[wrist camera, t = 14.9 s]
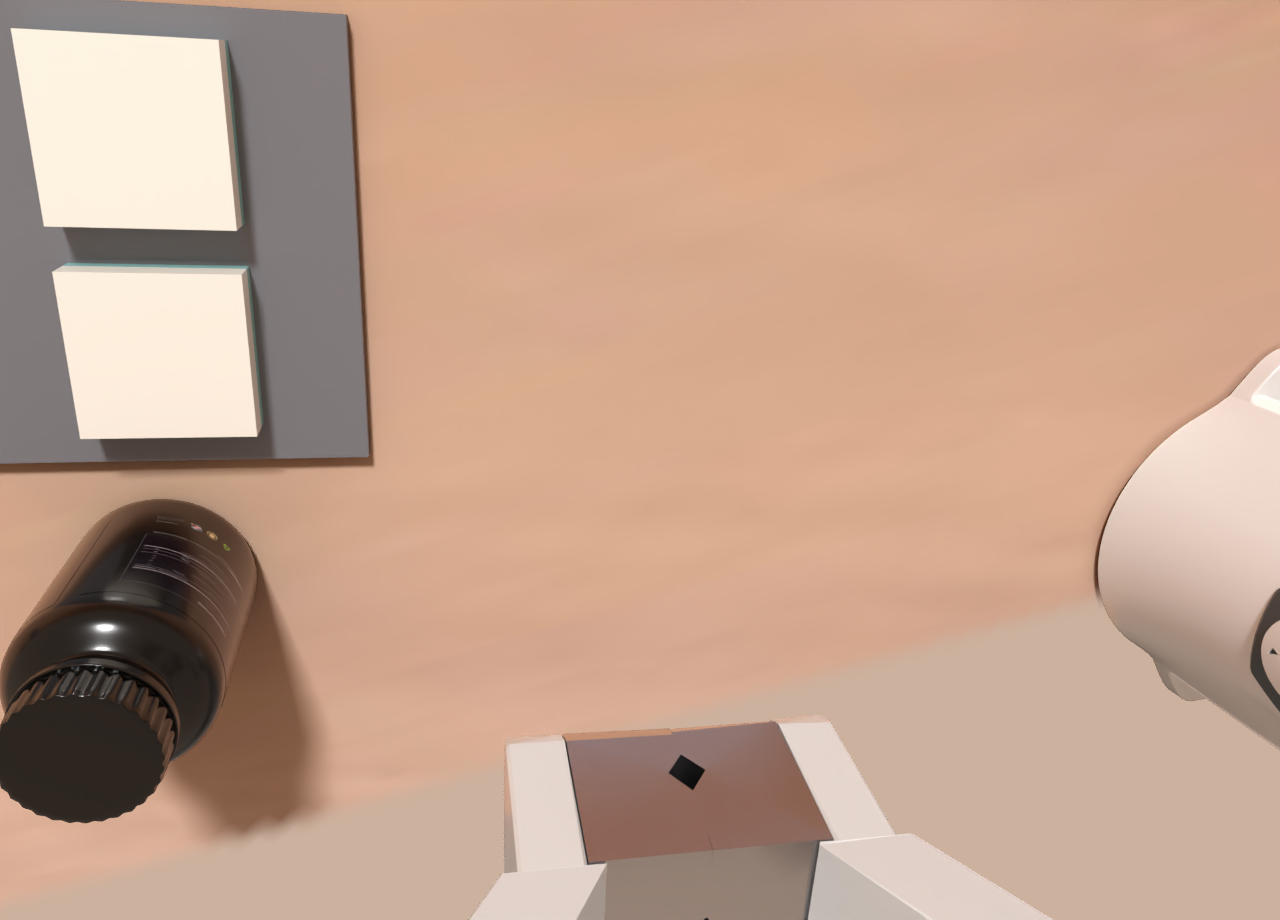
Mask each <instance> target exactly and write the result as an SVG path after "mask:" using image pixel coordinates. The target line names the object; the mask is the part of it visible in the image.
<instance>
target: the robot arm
mask: <svg viewBox="0 0 1280 920" xmlns="http://www.w3.org/2000/svg"><path fill="white" fill-rule="evenodd" d="M1098 581H1099V589H1100V594H1101V598H1102V601H1103V604H1104V607H1105V609H1106V611H1107V613H1108V616H1109V617H1110V619H1111V621H1112V622H1113V624H1114V625H1115V626H1116V627H1117V629H1118V630H1119V631H1120V632H1121V633H1122V634H1123V635H1124V636H1125V637H1126V638H1127V639H1129V640H1130V641H1131V642H1133V643H1134V644H1136V645H1137V646H1139V647H1140V648H1142V649H1143V650H1144V651H1146V652H1147V653H1148V654H1149V655H1150V656H1151V657H1152V658H1153V660H1154V662H1155V665H1156V667H1157V670H1158V672H1159V675H1160V677H1161V679H1162V681H1163V683H1164V684H1165V686H1166V687H1167V688H1168V689H1169V690H1171V691H1172V692H1173V693H1175V694H1177V695H1178V696H1179V697H1181V698H1182V699H1184V700H1187V701H1195V700H1200V699H1204V698H1206V699H1208V700H1209V701H1211V702H1212V703H1213V704H1215V705H1216V706H1218V707H1219V708H1220V709H1222V710H1223V711H1225V712H1226V713H1228V714H1229V715H1230V716H1232V717H1233V718H1235V719H1236V720H1237V721H1239V722H1240V723H1242V724H1243V725H1244V726H1246V727H1247V728H1249V729H1250V730H1252V731H1253V732H1255V733H1256V734H1257V735H1259V736H1260V737H1262V738H1263V739H1265V740H1266V741H1267V742H1269V743H1270V744H1272V745H1273V746H1275V747H1276V748H1278V749H1279V750H1280V349H1277V350H1275V351H1273V352H1272V353H1270V354H1269V355H1267V356H1266V357H1265V358H1264V359H1263V360H1262V361H1260V362H1259V363H1258V364H1257V365H1256V366H1255V367H1254V368H1253V370H1252V371H1251V372H1250V373H1249V374H1248V375H1247V376H1246V377H1245V378H1244V379H1243V381H1242V382H1241V383H1240V384H1239V385H1238V386H1237V388H1236V389H1235V390H1234V391H1233V392H1232V393H1231V395H1230V396H1228V397H1227V398H1226V399H1224V400H1223V401H1222V402H1220V403H1219V404H1218V405H1216V406H1215V407H1213V408H1211V409H1210V410H1208V411H1207V412H1205V413H1203V414H1202V415H1200V416H1198V417H1197V418H1195V419H1193V420H1192V421H1190V422H1189V423H1187V424H1186V425H1184V426H1183V427H1181V428H1180V429H1179V430H1177V431H1176V432H1175V433H1173V434H1172V435H1171V436H1170V437H1169V438H1167V439H1166V440H1165V441H1164V442H1163V443H1162V444H1161V445H1160V446H1159V447H1158V448H1156V449H1155V450H1154V451H1153V452H1152V453H1151V455H1150V456H1149V457H1148V458H1147V459H1146V460H1145V461H1144V462H1143V463H1142V465H1141V466H1140V467H1139V468H1138V469H1137V471H1136V472H1135V473H1134V475H1133V476H1132V477H1131V479H1130V480H1129V482H1128V483H1127V485H1126V486H1125V488H1124V489H1123V491H1122V493H1121V495H1120V496H1119V498H1118V500H1117V502H1116V504H1115V506H1114V508H1113V510H1112V512H1111V514H1110V517H1109V519H1108V522H1107V525H1106V528H1105V531H1104V534H1103V538H1102V542H1101V546H1100V552H1099V561H1098ZM504 866H505V867H504V868H505V873H504V874H500V875H499V877H498V878H497V879H496V881H495V882H494V884H493V885H492V886H491V888H490V889H489V891H488V892H487V894H486V895H485V896H484V898H483V899H482V901H481V902H480V903H479V905H478V906H477V908H476V909H475V911H474V912H473V913H472V915H471V916H470V918H469V919H468V920H1053V919H1051V918H1049V917H1048V916H1046V915H1045V914H1043V913H1041V912H1040V911H1038V910H1036V909H1035V908H1033V907H1031V906H1030V905H1028V904H1027V903H1025V902H1023V901H1022V900H1020V899H1018V898H1017V897H1015V896H1013V895H1012V894H1010V893H1009V892H1007V891H1005V890H1003V889H1002V888H1000V887H999V886H997V885H995V884H994V883H992V882H991V881H989V880H987V879H985V878H984V877H982V876H981V875H979V874H977V873H976V872H974V871H973V870H971V869H969V868H968V867H966V866H964V865H963V864H961V863H959V862H958V861H956V860H955V859H953V858H951V857H950V856H948V855H946V854H945V853H943V852H941V851H940V850H938V849H936V848H935V847H933V846H931V845H930V844H928V843H927V842H925V841H923V840H922V839H920V838H918V837H917V836H915V835H914V834H902V835H896V833H895V831H894V830H893V828H892V826H891V825H890V823H889V821H888V819H887V818H886V816H885V814H884V813H883V811H882V809H881V808H880V806H879V804H878V802H877V801H876V799H875V797H874V796H873V794H872V792H871V790H870V789H869V787H868V786H867V784H866V782H865V780H864V779H863V777H862V775H861V773H860V772H859V770H858V768H857V767H856V765H855V763H854V762H853V760H852V758H851V757H850V755H849V753H848V751H847V750H846V748H845V746H844V745H843V743H842V741H841V740H840V738H839V736H838V734H837V733H836V731H835V729H834V727H833V726H832V724H831V722H830V721H829V720H828V719H827V718H825V717H824V716H822V715H811V716H801V717H791V718H782V719H771V720H770V721H769V722H755V723H743V724H730V725H718V726H705V727H692V728H679V729H650V730H631V731H611V732H591V733H571V734H563V735H562V737H561V735H560V734H559V735H543V736H528V737H512V738H506V743H505V749H504Z"/></svg>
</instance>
